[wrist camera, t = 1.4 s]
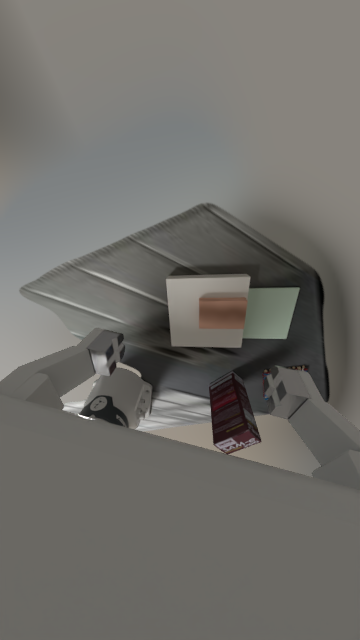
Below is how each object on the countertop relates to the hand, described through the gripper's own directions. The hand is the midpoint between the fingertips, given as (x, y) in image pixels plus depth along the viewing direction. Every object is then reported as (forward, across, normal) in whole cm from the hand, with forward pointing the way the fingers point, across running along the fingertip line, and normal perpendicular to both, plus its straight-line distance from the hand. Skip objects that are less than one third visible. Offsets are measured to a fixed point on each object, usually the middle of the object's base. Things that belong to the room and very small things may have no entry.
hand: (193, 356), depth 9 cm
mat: (+28, +15, -12) cm, 34 cm away
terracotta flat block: (+25, +4, -11) cm, 27 cm away
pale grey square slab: (+27, +1, -13) cm, 30 cm away
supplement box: (+26, +11, -33) cm, 43 cm away
